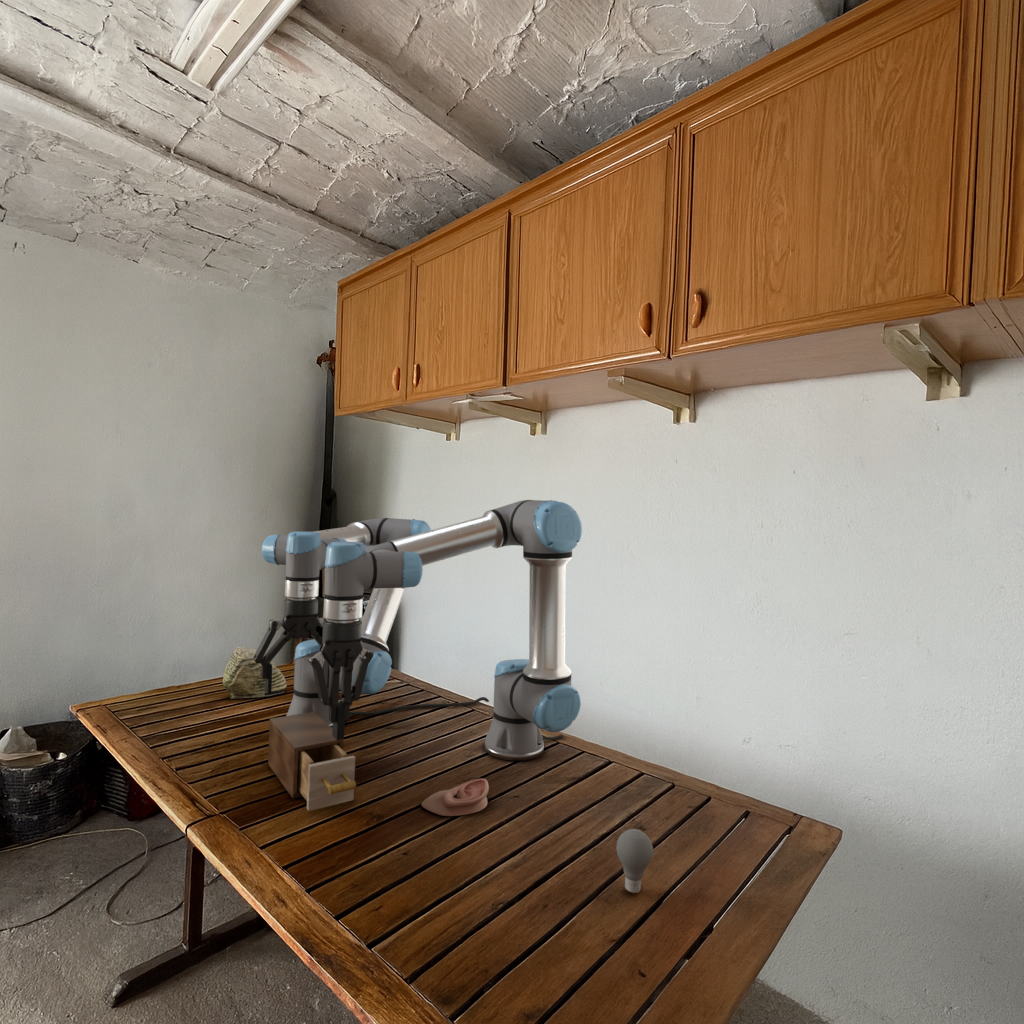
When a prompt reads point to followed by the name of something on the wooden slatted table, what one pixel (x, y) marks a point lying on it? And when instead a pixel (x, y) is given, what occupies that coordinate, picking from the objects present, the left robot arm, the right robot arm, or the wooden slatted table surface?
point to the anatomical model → (459, 799)
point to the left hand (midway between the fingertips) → (298, 688)
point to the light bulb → (634, 857)
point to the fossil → (249, 676)
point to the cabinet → (295, 744)
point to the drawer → (325, 776)
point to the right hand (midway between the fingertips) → (338, 737)
